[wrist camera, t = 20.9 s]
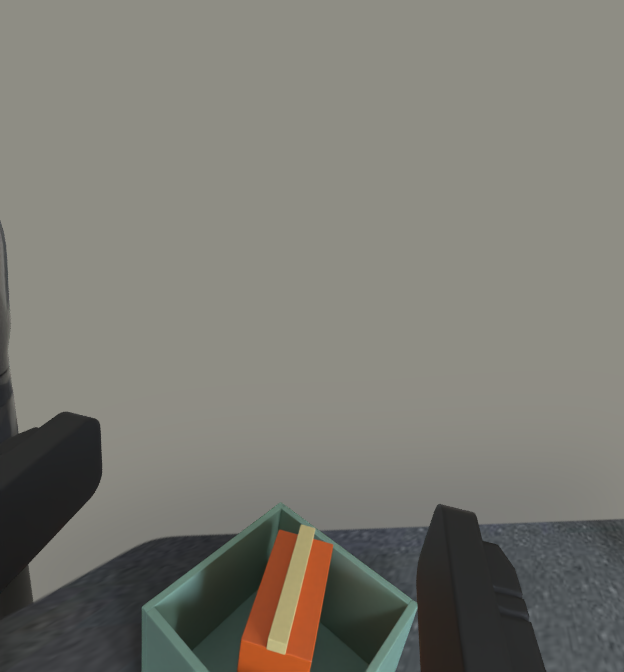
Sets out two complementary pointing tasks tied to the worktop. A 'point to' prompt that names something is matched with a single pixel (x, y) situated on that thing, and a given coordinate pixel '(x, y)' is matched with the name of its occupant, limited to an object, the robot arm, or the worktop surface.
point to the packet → (287, 605)
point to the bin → (238, 597)
